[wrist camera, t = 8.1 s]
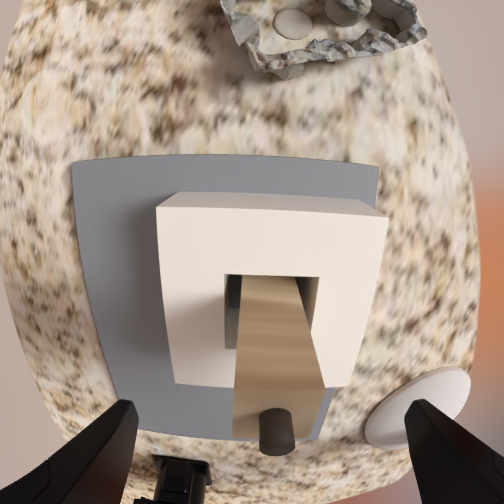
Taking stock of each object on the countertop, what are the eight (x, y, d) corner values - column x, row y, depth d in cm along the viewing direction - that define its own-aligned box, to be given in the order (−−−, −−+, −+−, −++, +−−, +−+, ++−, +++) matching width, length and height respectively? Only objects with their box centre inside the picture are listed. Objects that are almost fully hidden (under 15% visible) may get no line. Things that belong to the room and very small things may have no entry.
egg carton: (256, 94, 15) (256, 79, 11) (211, -5, 13) (200, -37, 9) (412, 57, 14) (446, 43, 10) (365, -33, 11) (386, -61, 7)
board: (316, 431, 24) (317, 439, 23) (133, 420, 24) (130, 427, 23) (372, 165, 16) (378, 167, 15) (79, 160, 16) (71, 162, 15)
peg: (284, 299, 18) (312, 465, 7) (241, 296, 18) (230, 466, 7) (289, 259, 17) (333, 421, 7) (243, 256, 17) (231, 421, 6)
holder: (333, 345, 19) (347, 386, 16) (187, 342, 19) (175, 383, 15) (359, 199, 16) (389, 217, 12) (178, 191, 16) (156, 206, 12)
